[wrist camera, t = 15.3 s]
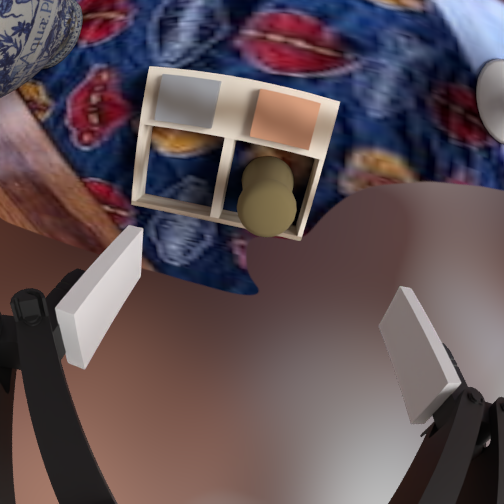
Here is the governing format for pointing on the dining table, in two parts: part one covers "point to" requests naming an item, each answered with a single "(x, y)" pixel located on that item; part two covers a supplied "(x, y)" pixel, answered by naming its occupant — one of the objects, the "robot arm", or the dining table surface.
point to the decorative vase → (35, 37)
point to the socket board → (231, 131)
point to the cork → (267, 197)
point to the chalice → (492, 98)
